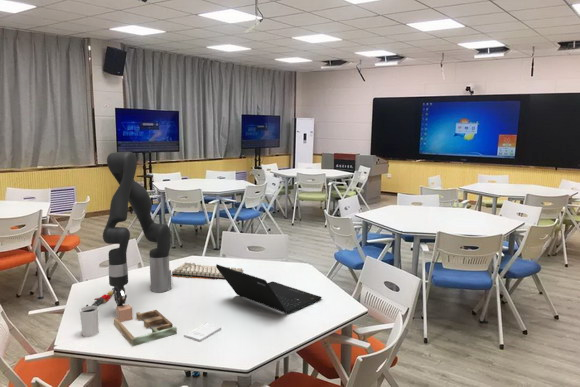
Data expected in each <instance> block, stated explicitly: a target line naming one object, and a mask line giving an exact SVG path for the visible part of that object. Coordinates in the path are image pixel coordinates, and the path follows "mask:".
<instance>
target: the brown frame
mask: <svg viewBox="0 0 580 387" xmlns="http://www.w3.org/2000/svg"><path fill="white" fill-rule="evenodd" d="M135 318H136V320H138V321H140V322H141V321H143V326H144V328H146V329H151V332H150V333H147V334H143V335H140V336H139V335H138V336H136V337H135V336H134V335H133V334H132V333H131V332H130V331H129V329H127V327H126V326H125V324H123V322H120V321H119V320H118V319H117V317H114V318H113V325H114V326H115V327H116V328H117V329H118V331H119V332H120V333H121V334H122V336H124V338H125V339H126V340H127V341H128V342H129V343H130V345H131V346H132V347H135V346H139V345H142V344H145V343H149V342H151V341H155V340H159V339H162V338H166V337H169V336H172V335H177V334H178V333H177V332H178V328H177V326H174V325H173V323H172V322H171V321H170V320H169V319H168V318H166V317H165V316H164V315H163V314H162V313H160V312H159V310H157V309H153V310H149V311H146V312H140V311H137V312H136V317H135Z"/></svg>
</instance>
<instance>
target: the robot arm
mask: <svg viewBox="0 0 580 387" xmlns="http://www.w3.org/2000/svg"><path fill="white" fill-rule="evenodd" d="M106 164H107V167H108V169H109V171H110V173H111V174H112V176H113V177H114V179H115V180H116V182H117V183H118V187H117V189H116V190H115V192H114V194H113V195H112V197H111V200H110V206H109V215H108V220H107V221H106V225H105V226H104V229H103V232H102V240H103V241H104V242H105V243H104V244H108V245H119V247H116V248H111V249H110V250H109V251H108V280H109V281H108V285H110V286H111V287H112V289H111V291H113V298H114V301H115V305H116V307H117V306H122V305H126V300H127V295H128V294H125V293H126V288H125V286H126V285H128V283H129V272H128V271H129V270H128V262H127V260H128V259H127V258H128V256H127V252H128V246H129V241H130V238H131V232H130V230H129V228H127V227H125V226H117V224H119V223H123V222H125V221H127V220H128V212H129V206H130V207H131V208H132V210H133V212H134V214H135V216H136V218H137V219H138V222H139V225H140V227H141V230H142V232H143V234H144V237H145V238H146V240H147V241H148V242H151V243H157V244H156V246H157V247H155V248H152V249H150V250H149V253H148V254H149V274H150V275H149V277H150V281H149V283H150V291H151V292H153V293H163V292H168V291H169V290H172V288H173V287H172V276H171V275H172V270H171V269H170V251H171V250H170V249H171V230H170V226H169V225H167V224H165V223H156V222H155V221H154V219H153V218H152V216H151V213H152V212H151V211H152V209H153V202H152V201H153V200H152V199H151V197H150V195H149V192H148V190H147V189H146V188H145V187H144V186H143V185H142V184H140V183H139V182H137V180H135V175H136V173H137V172H136V171H137V166H138V159H137V155H136V154H135V153H133V152H132V151H116V152H111V153H109V154H108V155H107V158H106Z"/></svg>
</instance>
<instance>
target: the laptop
mask: <svg viewBox="0 0 580 387" xmlns="http://www.w3.org/2000/svg"><path fill="white" fill-rule="evenodd" d="M215 266H216V267H217V269H218V270H219V271H220V273H221V274H222V276H223V277H224V278H225V279H226V280H225V281H226V283H227V284H228V285H229V286H230V287H231V289H232V290H233V291H234V293H235V294H236V295H238V297H242V298H244V299H249V301H253V302H255V303H257V304H258V303H259V304H261V305H264V306H266V307H270V308H272V309H275V310H277V311H279V312H282V313H284V314H290V313H293V312H296V311H297V310H299V309H302V308H304V307H306V306H309V305H311V304H313V303H316V302H318V301H319V300H322V296H320V295H317V294H313V293H310V292H308V291H304V290H300V289H297V288H294V287H292V286H287V285H285V284H282V283H280V282H275V281H270V282H267V280H266V279H263V278H260V277H257V276H255V275H250V274H248V273H244V272H239V271H236V270H233V269H231V267H230V268H227V267H228V266H227V267H226V266H223V265H220V264H218V263H217V264H216V265H215Z"/></svg>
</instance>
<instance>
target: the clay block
mask: <svg viewBox="0 0 580 387" xmlns="http://www.w3.org/2000/svg"><path fill="white" fill-rule="evenodd" d="M115 308H116V310H115V311H116V318H117V319H118V320H119V321H120V322H121V323H123V322H126V321H131V320H133V319H134V318H133V317H134V315H133V306H132V305H130V304H128V303H125V304H123V305H122V306H117V305H116V307H115Z"/></svg>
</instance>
